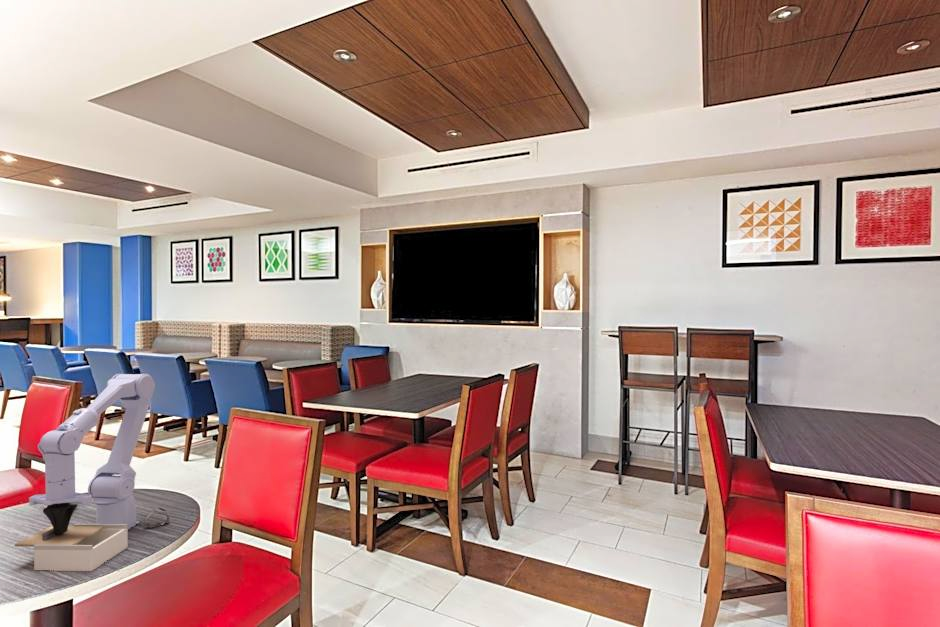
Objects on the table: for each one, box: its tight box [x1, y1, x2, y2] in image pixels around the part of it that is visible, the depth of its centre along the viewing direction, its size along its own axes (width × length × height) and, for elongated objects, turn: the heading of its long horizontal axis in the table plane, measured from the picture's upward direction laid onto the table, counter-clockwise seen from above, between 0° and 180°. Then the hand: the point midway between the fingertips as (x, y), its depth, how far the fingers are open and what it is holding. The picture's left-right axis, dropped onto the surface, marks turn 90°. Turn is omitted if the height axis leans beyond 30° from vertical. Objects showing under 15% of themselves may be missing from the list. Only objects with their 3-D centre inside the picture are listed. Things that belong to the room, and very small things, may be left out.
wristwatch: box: [143, 507, 170, 529], centre depth 144 cm, size 4×6×5 cm, turn 133°
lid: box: [14, 525, 104, 548], centre depth 126 cm, size 10×14×2 cm
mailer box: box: [33, 523, 129, 572], centre depth 125 cm, size 12×14×6 cm
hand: (61, 533), depth 126 cm, fingers closed
